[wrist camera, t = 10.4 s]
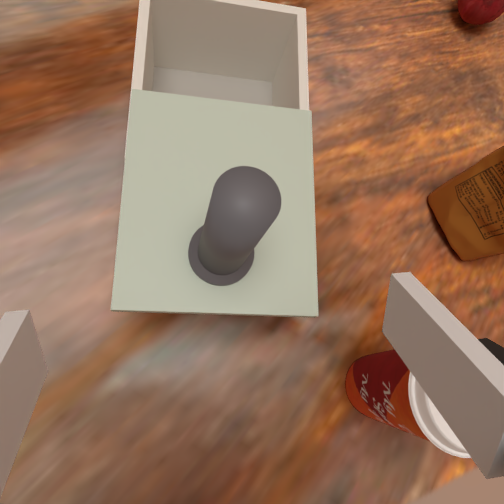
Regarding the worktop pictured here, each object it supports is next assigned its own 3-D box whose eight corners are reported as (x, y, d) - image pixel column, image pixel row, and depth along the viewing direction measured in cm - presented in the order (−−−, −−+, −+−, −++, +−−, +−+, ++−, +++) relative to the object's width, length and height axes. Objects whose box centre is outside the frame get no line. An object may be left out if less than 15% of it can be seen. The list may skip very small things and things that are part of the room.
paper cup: (318, 395, 38) (398, 411, 25) (360, 327, 41) (453, 309, 28) (386, 448, 38) (502, 491, 25) (424, 377, 41) (548, 381, 28)
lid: (112, 311, 27) (78, 277, 17) (132, 95, 31) (115, -37, 21) (314, 317, 30) (392, 291, 19) (308, 116, 34) (369, 7, 24)
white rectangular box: (134, 208, 40) (124, 158, 30) (147, 64, 44) (141, -20, 34) (278, 218, 42) (311, 175, 33) (277, 81, 46) (305, 8, 37)
